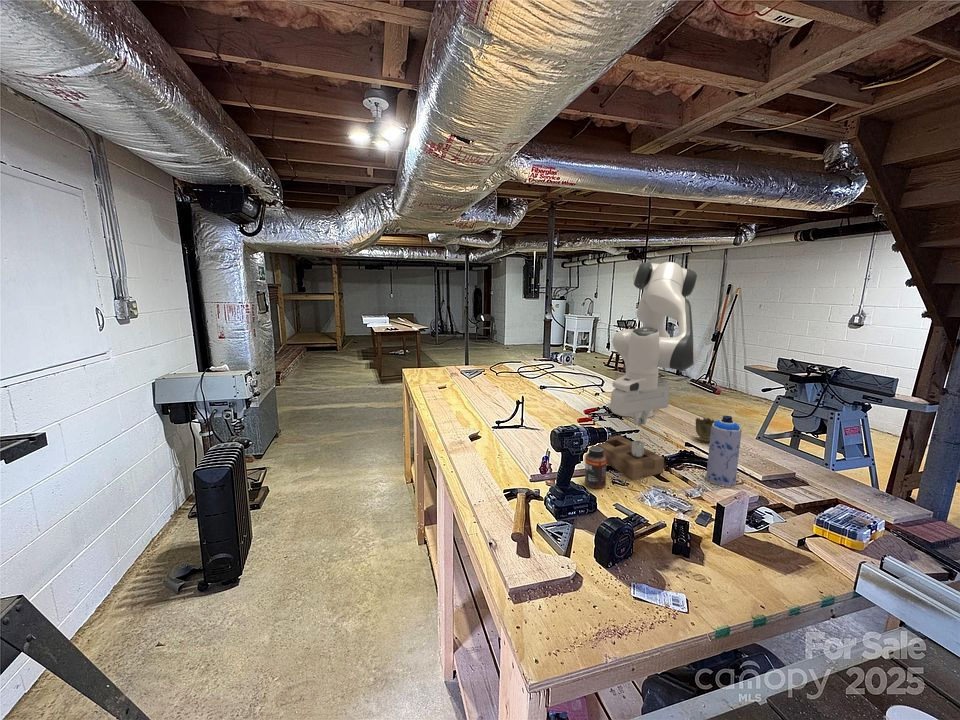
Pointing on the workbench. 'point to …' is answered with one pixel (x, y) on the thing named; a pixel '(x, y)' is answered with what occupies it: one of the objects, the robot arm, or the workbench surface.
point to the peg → (637, 449)
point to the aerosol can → (723, 452)
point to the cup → (704, 428)
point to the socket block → (631, 459)
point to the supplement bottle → (595, 468)
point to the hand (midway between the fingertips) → (639, 424)
